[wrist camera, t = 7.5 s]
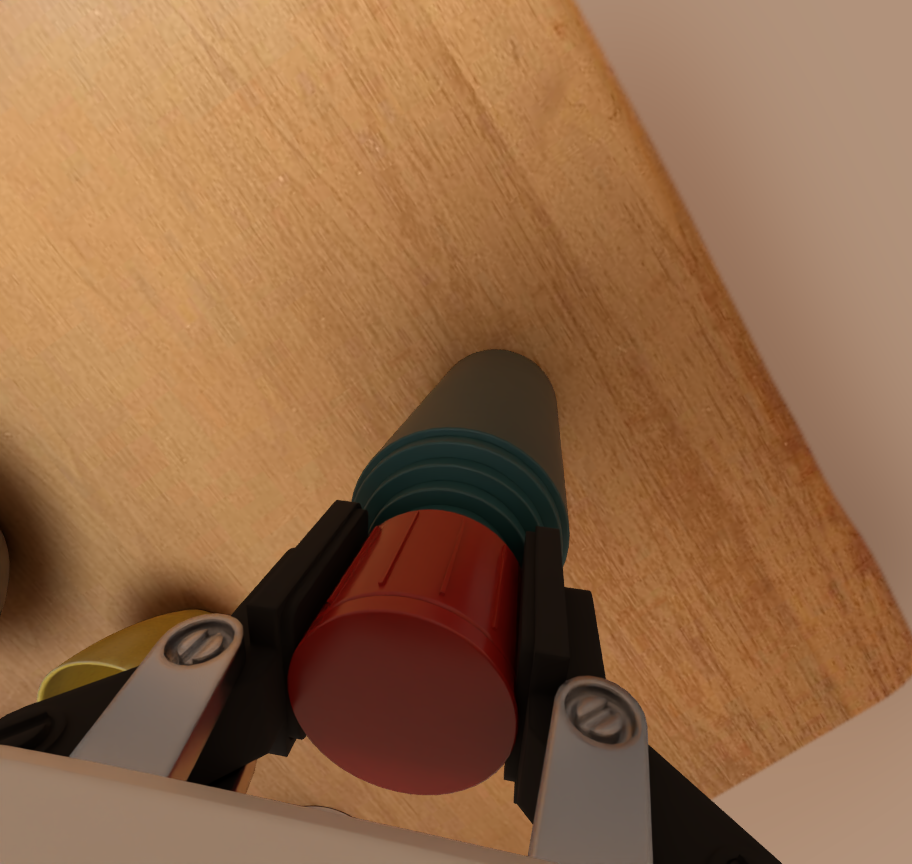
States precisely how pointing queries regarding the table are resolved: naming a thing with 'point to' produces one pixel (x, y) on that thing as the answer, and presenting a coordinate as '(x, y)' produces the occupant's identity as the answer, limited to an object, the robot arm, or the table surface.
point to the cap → (416, 657)
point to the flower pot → (111, 654)
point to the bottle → (477, 453)
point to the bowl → (3, 570)
